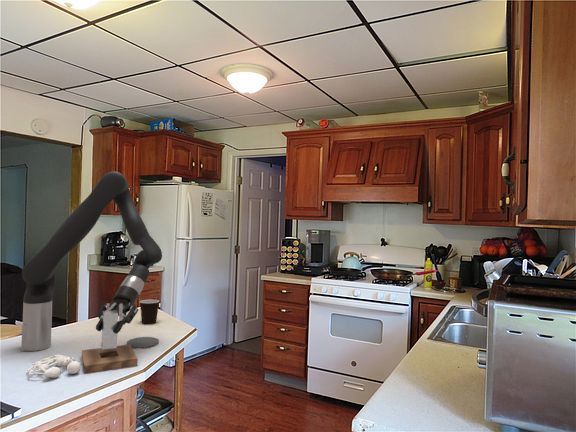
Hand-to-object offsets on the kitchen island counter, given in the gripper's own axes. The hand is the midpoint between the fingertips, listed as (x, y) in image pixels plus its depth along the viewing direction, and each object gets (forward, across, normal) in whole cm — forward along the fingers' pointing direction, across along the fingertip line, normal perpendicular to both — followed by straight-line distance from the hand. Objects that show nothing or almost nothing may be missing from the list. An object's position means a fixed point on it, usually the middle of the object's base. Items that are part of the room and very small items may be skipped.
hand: (106, 331), depth 137 cm
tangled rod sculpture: (+16, -11, +1) cm, 19 cm away
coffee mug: (-28, -16, +44) cm, 54 cm away
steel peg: (+3, 0, +5) cm, 6 cm away
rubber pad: (-8, 0, +23) cm, 25 cm away
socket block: (+7, 0, +9) cm, 11 cm away
